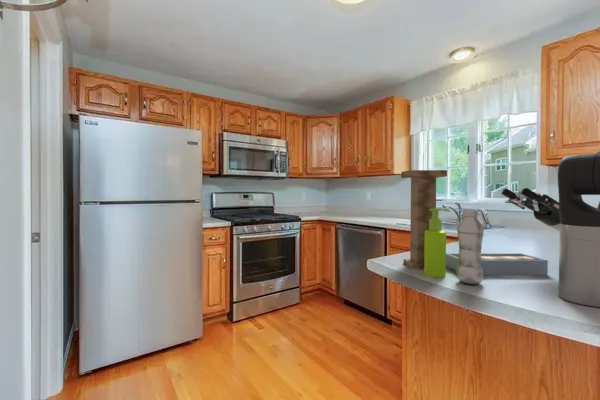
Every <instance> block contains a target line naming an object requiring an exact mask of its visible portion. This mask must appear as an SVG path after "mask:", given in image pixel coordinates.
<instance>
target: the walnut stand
mask: <svg viewBox="0 0 600 400" xmlns="http://www.w3.org/2000/svg"><path fill="white" fill-rule="evenodd" d="M446 177H448V170H447V169H445V170H444V169H441V170H440V169H437V170H436V169H435V170H433V169H432V170H431V169H430V170H429V169H428V170H426V169H425V170H424V169H423V170H422V169H414V170H413V169H409V170H405V171H402V172H401V175H400V178H401V179H410V231H409V232H410V248H409V249H410V251H409V253H410V255H409V257H410V258H406V259H405V258H403V264H404V263H405V264H406V265H405V264H404V265H405V266H407V267H408V266H409V268H410V269H411V268H412V269H411V270H424V245H425V231H426V230H429V220H430V219H431V218H432V211H430V209H434V208H437V179H439V178H446Z"/></svg>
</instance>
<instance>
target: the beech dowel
mask: <svg viewBox="0 0 600 400" xmlns="http://www.w3.org/2000/svg"><path fill="white" fill-rule="evenodd" d="M481 260H535V259H534V258H530V257H526V256H481Z"/></svg>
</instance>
